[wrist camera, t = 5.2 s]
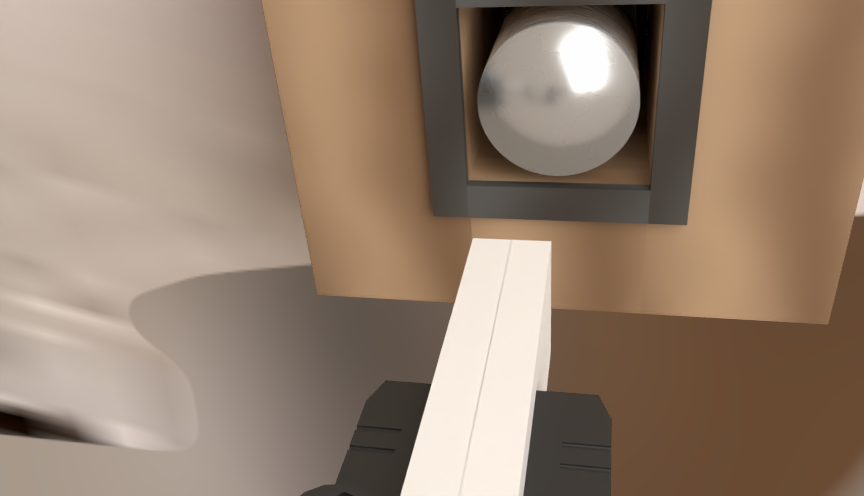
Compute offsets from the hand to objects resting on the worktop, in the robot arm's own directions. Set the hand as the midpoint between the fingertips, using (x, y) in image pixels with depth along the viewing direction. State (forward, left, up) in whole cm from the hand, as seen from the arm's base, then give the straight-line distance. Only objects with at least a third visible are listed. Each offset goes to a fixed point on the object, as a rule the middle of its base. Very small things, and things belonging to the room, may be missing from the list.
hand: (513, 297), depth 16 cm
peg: (0, 0, -20) cm, 20 cm away
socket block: (0, 0, -20) cm, 20 cm away
